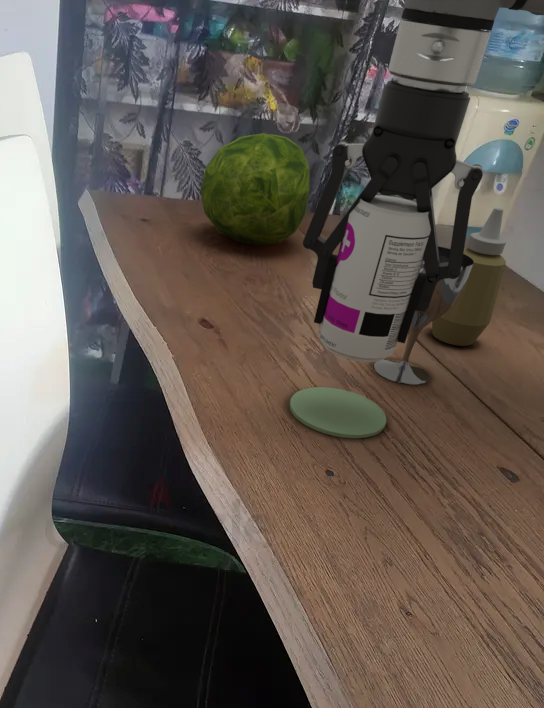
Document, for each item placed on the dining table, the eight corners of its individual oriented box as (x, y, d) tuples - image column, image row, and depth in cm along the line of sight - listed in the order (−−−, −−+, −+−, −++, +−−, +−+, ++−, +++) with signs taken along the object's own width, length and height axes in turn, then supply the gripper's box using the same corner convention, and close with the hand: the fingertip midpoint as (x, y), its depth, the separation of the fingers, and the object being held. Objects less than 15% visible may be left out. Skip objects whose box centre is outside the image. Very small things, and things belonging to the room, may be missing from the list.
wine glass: (392, 353, 100) (427, 241, 91) (443, 376, 95) (486, 260, 87) (358, 366, 95) (392, 249, 86) (411, 391, 91) (452, 271, 82)
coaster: (389, 405, 87) (390, 401, 87) (379, 448, 79) (381, 444, 78) (299, 382, 90) (300, 378, 89) (280, 422, 81) (281, 418, 81)
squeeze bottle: (473, 355, 102) (524, 222, 91) (416, 338, 105) (460, 206, 94) (486, 338, 108) (536, 211, 97) (432, 322, 111) (475, 197, 100)
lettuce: (309, 237, 143) (317, 132, 135) (301, 254, 123) (310, 132, 115) (211, 235, 147) (213, 133, 139) (188, 251, 127) (190, 133, 119)
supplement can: (310, 352, 77) (346, 203, 68) (325, 326, 84) (360, 186, 75) (387, 372, 75) (435, 220, 66) (396, 343, 82) (441, 202, 73)
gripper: (304, 68, 64) (256, 317, 77) (557, 108, 59) (460, 365, 73) (319, 63, 70) (272, 296, 83) (550, 98, 65) (461, 338, 79)
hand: (360, 328), depth 78 cm, fingers closed on supplement can, 8 cm apart
